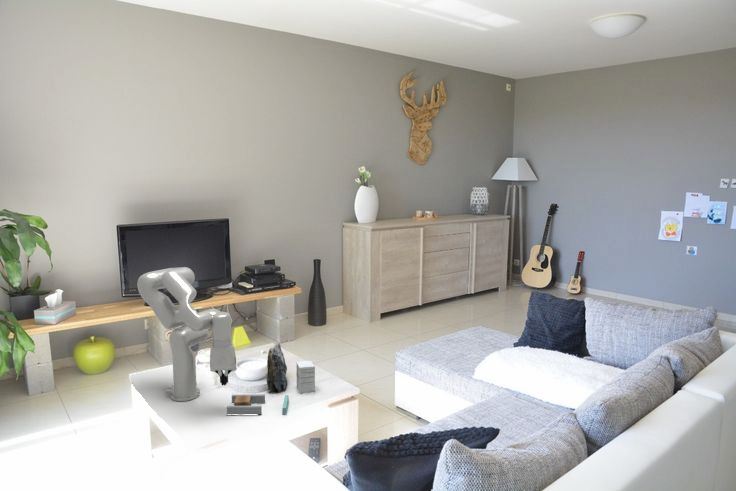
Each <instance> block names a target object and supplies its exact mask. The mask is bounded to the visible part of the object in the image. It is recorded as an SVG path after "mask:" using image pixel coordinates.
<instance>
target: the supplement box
mask: <svg viewBox="0 0 736 491" xmlns="http://www.w3.org/2000/svg"><path fill="white" fill-rule="evenodd" d="M315 384H316V366H315V364H314V363H313V361H312V360H303V361H296V389H297V391H298V393H299V394H307V393H308V394H309V393H315V392H316V385H315Z"/></svg>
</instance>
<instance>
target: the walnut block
mask: <svg viewBox="0 0 736 491" xmlns="http://www.w3.org/2000/svg"><path fill="white" fill-rule="evenodd" d="M233 406H252V404H251V396H236V399H235V402H234V404H233Z"/></svg>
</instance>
